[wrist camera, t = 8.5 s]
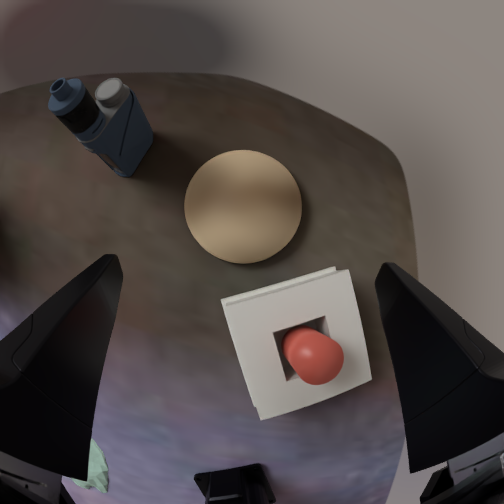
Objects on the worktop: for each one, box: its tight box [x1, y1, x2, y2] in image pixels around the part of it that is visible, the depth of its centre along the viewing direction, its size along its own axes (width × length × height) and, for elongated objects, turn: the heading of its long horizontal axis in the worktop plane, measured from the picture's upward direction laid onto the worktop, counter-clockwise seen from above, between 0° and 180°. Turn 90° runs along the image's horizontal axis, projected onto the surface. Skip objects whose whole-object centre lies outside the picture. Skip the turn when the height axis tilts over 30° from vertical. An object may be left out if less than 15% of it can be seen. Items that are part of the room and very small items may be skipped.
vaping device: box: [48, 78, 153, 177], centre depth 15 cm, size 3×5×12 cm, turn 154°
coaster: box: [184, 150, 302, 264], centre depth 21 cm, size 9×9×1 cm
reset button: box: [281, 325, 344, 385], centre depth 16 cm, size 3×3×4 cm
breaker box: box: [221, 267, 372, 420], centre depth 19 cm, size 9×9×4 cm
